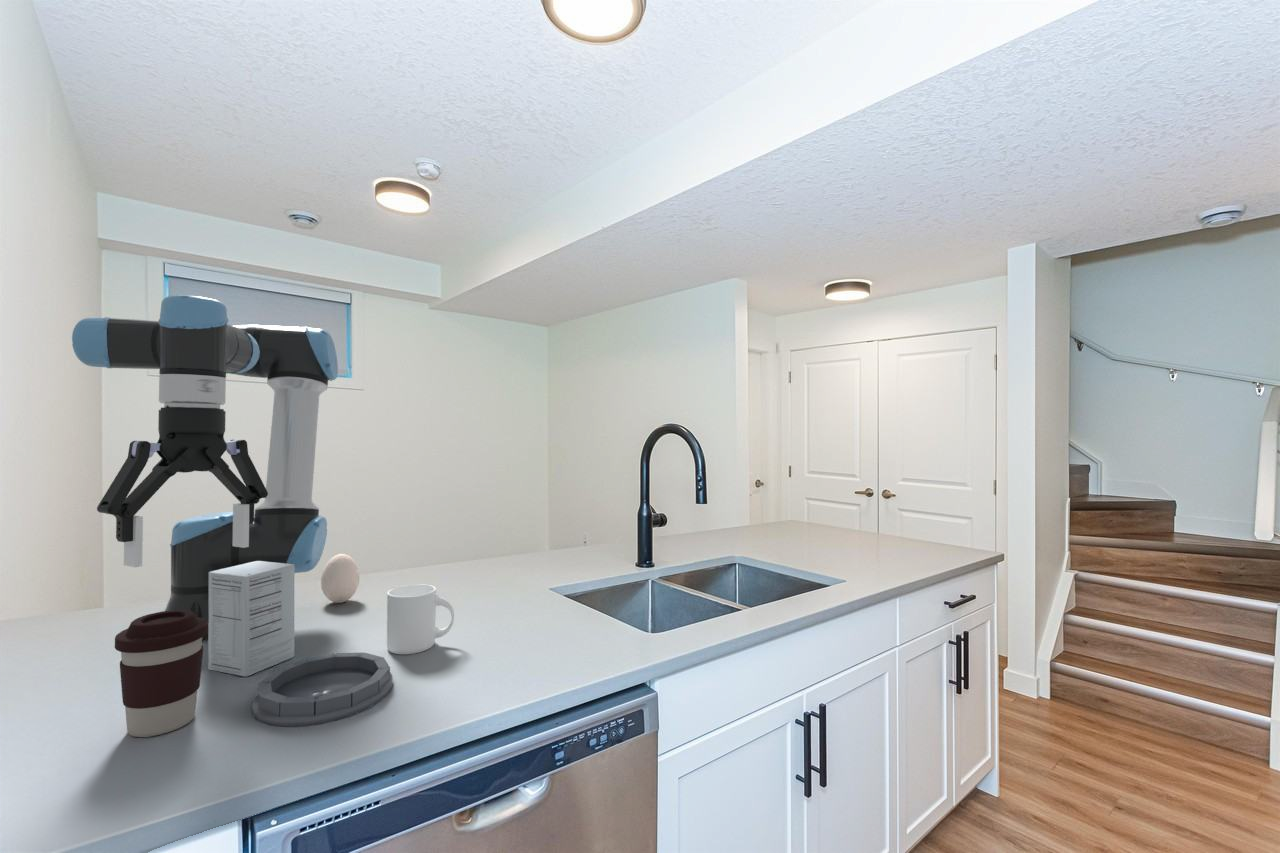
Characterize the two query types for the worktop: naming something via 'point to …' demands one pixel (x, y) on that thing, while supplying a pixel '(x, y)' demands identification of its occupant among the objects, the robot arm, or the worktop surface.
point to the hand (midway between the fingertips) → (190, 555)
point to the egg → (340, 578)
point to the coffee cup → (161, 670)
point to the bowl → (322, 689)
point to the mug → (414, 618)
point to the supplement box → (250, 617)
